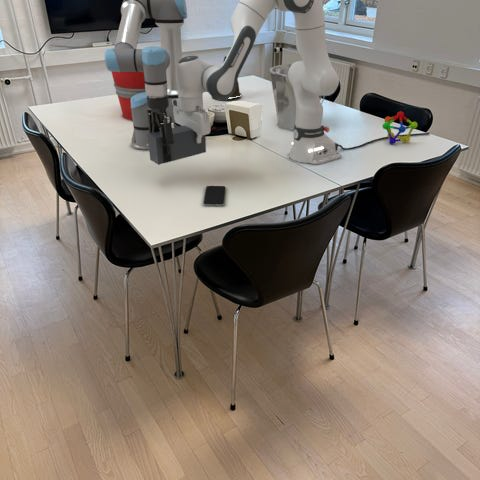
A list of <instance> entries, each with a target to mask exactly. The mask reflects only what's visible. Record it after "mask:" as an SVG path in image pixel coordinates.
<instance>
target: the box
mask: <svg viewBox="0 0 480 480" xmlns="http://www.w3.org/2000/svg"><path fill="white" fill-rule="evenodd" d="M172 132H173V141H174V144H172V145H170V149H171V161H170V162H169V163H171V162H174V161H179V160H183V159H187V158H189V157H194V156H198V155H201V154H205V153H207V141H206V140H207V139H206V138H207V137H206V135H203V136H202V138H201V143H196V142H195V138H197V135H196V132H194V131H193V130H192V129H190V128H188V127H186V126H182V125H180V126H175V127H172ZM148 143H149V150H148V152H149V160H150V161H151V162H152V163H154V164H156V165H159V166H160V165H163V164H167V163H168V162H166V163H165V162H164V156H163V146H162V145H163V144H164V143H163V139H162V135H161V131H157V132H152V133H148Z"/></svg>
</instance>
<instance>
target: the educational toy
mask: <svg viewBox="0 0 480 480" xmlns="http://www.w3.org/2000/svg"><path fill="white" fill-rule="evenodd" d="M397 119H399V124H400V125H399V127H398V126H393V125H391V124H392V123H394V122H395V121H396V120H397ZM403 120H404V121H405V122H407V123H408V124H409V125H407V126H404V123H403ZM417 127H418V122H417V121H411V120H410V119H409V118H408V117H406V116H405V113H404V112H403V111H401V110H400V111H398V112H397V114H396V115H394V116H391V117H390V116H386V117H385V118H384V122H383V123H382V129H383V130H386V132H387V137H388V138H387V139H388V142H389V145H395V144H396V143H397V142H402V141H403V142H404V143H409V142H410V140H411V138H410V134H412V132H413V131H414V130H415V129H417ZM392 129H393V130H397V131H398V132H396V134H395V133H394V132H392ZM408 129H409V131H408V133H407V134H408V135H407V136H401V137H400V136H399V135H401V134H403V133H405V132H406V130H408Z"/></svg>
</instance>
